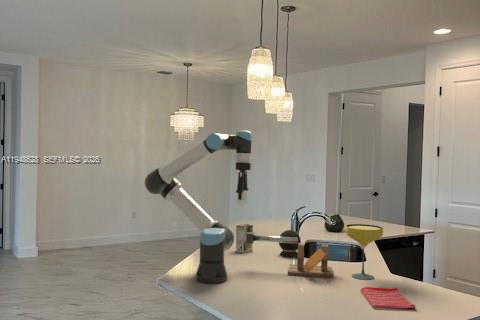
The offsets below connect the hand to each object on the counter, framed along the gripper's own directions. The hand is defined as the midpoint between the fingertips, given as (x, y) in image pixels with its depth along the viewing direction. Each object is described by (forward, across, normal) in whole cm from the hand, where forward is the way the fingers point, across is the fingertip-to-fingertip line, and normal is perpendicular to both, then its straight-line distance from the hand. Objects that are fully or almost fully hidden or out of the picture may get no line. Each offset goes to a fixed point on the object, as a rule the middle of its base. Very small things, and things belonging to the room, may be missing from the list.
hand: (241, 204), depth 222 cm
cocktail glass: (+34, +9, -61) cm, 70 cm away
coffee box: (+35, +53, +5) cm, 64 cm away
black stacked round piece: (+35, +49, -23) cm, 64 cm away
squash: (+35, +143, -55) cm, 157 cm away
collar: (+29, +8, -36) cm, 47 cm away
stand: (+34, +12, -35) cm, 50 cm away
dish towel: (+35, -26, -66) cm, 79 cm away
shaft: (+21, +12, -15) cm, 28 cm away
